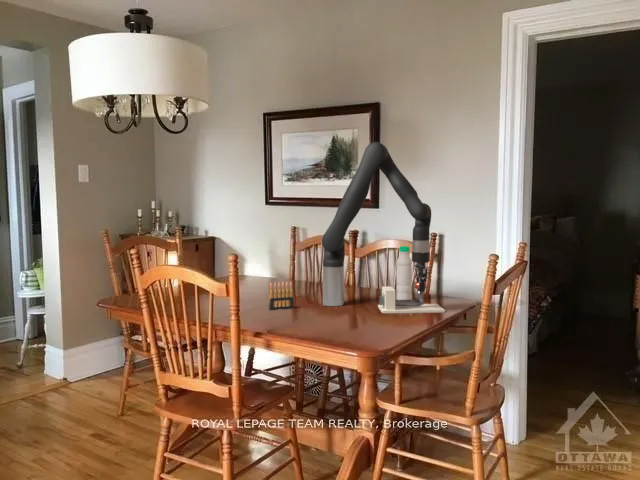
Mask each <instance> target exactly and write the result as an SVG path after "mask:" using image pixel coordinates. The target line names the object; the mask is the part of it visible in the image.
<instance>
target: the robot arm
mask: <svg viewBox="0 0 640 480" xmlns="http://www.w3.org/2000/svg"><path fill="white" fill-rule="evenodd" d="M362 154H363V155H362V157H361V160H360V161H359V162H360V163H359V165H358V167H357V169H356V171H355V173H354V175H353V176H352V179H351V180H350V183H349V184H348V186H347V188H346V190H345V192H344V194H343V196H342V198H341V200H340V202H339V205H338V208H337V209H336V212H335V215H334V218H333V219H332V222H330V225H329V226H328V227H327V229H326V231H325V233H324V234H323V236H322V238H321V244H322V247H323V259H322V306H324V307H325V306H328V307H338V306H339V307H340V306H343V305H344V304H345V291H344V290H345V285H344V284H345V283H344V282H345V280H344V279H345V275H344V273H345V272H344V271H345V266H344V265H345V249H346V248H345V244H346V243H345V242H346V241H345V236H346V234H347V231H348V229H349V227H350V226H351V224H352V222H353V221H354V219H355V218H356V217H357V215H358V213H359V212H360V211H361V208H362V207H363V205H364V203H365V202H366V199H367V197H368V194H369V191H370V187H371V182H372V179H373V176H374V174H375V172H376V171H377V169H378V170H380V171H381V172H382V173H383V174H384V175H385V178H387V180H388V182H389V184H390V186H391V187H392V189H393V190H394V192H395V193H396V194H397V196H398V197H399V199H400V200H402V202H403V203H404V205H405V208H406V209H407V211H408V213H409V214H410V215H411V217H412V218H413V219H414V221H415V223H414V226H413V228H412V243H411V261H412V263H415V264H414V279H415V282H419V291H420V292H425V291H426V289H425V282H426V283H427V281H428V269H427V266H426V263H430V261H431V243H430V242H431V241H430V227H431V221H432V209H431V207H430V205H428V204H427V203H425V202H423V201H422V200H421V199H420V198H419V196H418V195H419V193H418V192H417V190H416V189H415V188H414V187H413V185H412V184H411V182H410V181H409V180H408V179H407V178H406V176H405V175H404V174H403V173H402V171H401V170H400V169H399V167H398V166H397V164H396V163H395V161H394V160H393V158H392V155H391V154H390V152H389V149H388V147H386V146H385V145H384V144H383V143H381V142H379V141H373V142H370V143H369V144H368V145H367V146H366V148H365V149H364V152H363V153H362Z"/></svg>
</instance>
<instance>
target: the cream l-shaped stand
mask: <svg viewBox="0 0 640 480" xmlns="http://www.w3.org/2000/svg"><path fill="white" fill-rule="evenodd" d="M381 296H383V297H384V300H385V307H383V305H379V304H377V307H378V309H379V311H380V312H381V313H382V314H420V313H421V314H428V313H429V314H430V313H432V314H433V313H446V310H445V309H444V308H443V307H442V306H440V305H439V304H438V303H423V305H421V306H395V300H396V289H394V287H393V286H381Z"/></svg>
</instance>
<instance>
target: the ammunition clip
mask: <svg viewBox="0 0 640 480" xmlns="http://www.w3.org/2000/svg"><path fill="white" fill-rule="evenodd" d="M273 283H274V284H273ZM273 283H272V281H271V282H270V283H269V294H268V295H269V298H268V310H269V311H279V310H278V309H282V310H292V308H295V305H294V289H293V281H292V280H290V281H286V282H284V281H282V282H280V281H278V282H276V281H274V282H273Z"/></svg>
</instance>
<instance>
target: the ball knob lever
mask: <svg viewBox="0 0 640 480" xmlns="http://www.w3.org/2000/svg"><path fill="white" fill-rule="evenodd" d="M414 289H416V290H417V291H416V293H417V295H416V296H417V297H416V298H417V299H412V300H397V299H395V306H421V305H423V304H424V292H425V291H424V292H420V291H419V282H416V281H415V282H414ZM426 289H427V281H426V282H425V290H426ZM378 301H379V302H378V303H379V304H378V305H383V307H385V300H384V297H383V296H382V295H380V296H379V300H378Z"/></svg>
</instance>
